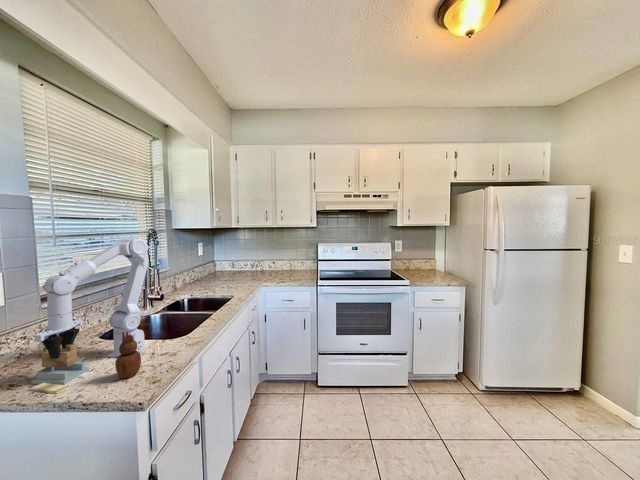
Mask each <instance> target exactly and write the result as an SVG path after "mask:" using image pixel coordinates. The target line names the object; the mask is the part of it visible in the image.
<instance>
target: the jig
mask: <svg viewBox="0 0 640 480" xmlns="http://www.w3.org/2000/svg"><path fill="white" fill-rule="evenodd" d="M89 368H90V367H88V366H86V362H82V361H77V362H76V363H74V364H72V365H70V366H68V367H43V368H42V369H40V370H38V371H37V372H36V373H35V379H33V380H31V385H40V384H42V383H49V384H57V385H66V384H68V383H69V382H71V381H73V380H74V379H76V378H79V376H81V375H83V374H84V373H86V372H88V371H89V370H90V369H89Z"/></svg>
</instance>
